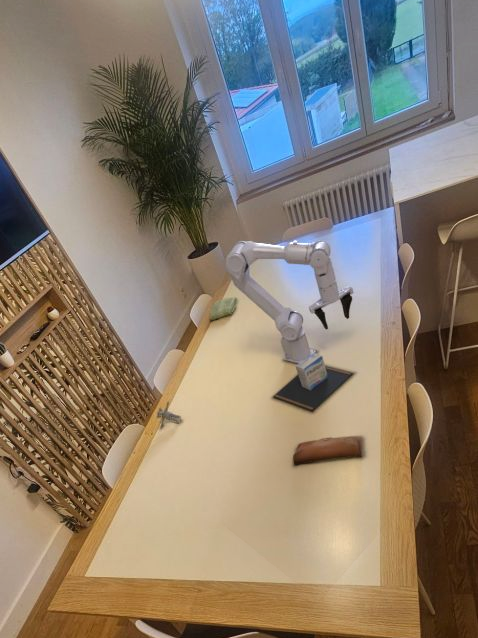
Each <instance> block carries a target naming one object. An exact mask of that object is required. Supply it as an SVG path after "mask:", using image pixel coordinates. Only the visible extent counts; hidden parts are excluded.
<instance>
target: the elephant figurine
mask: <svg viewBox="0 0 478 638" xmlns="http://www.w3.org/2000/svg"><path fill="white" fill-rule="evenodd" d="M169 405H170V401H167V403H166V406H165V408H164V409H163V408H161V407H159V408H158V411H157V413H156V414H157V415H156V419H161V423H160V428H161V429H162V428H163V426H164V422H165V419H166V420H167V421H172V422H175V423H178V424H180V423H181V418H182V416H181V415H178V414H175V413H173V412H171V411H168V408H169Z"/></svg>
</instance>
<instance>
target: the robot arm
mask: <svg viewBox="0 0 478 638" xmlns="http://www.w3.org/2000/svg"><path fill="white" fill-rule="evenodd" d="M258 260H284V261H285V262H286V264H288V265H302V266H303V265H304V266H310V267H311V268H312V269H313V273H314V277H315V282H316V285H317V288H318V293H319V296H320V299H318V300H316V301H315V302H314V303H312V304H311V305H309V306H308V311H309V312H310V314H311V315H312V314H314V315H315V316H316V317H317V318H318V319H319V321H320V323H321V324H322V326H323V328H324V329H325V330H328V329H329V326H328V323H327V320H326V312H325V311H324V310H323V308H325V307H327V306H329V305H332V304H334V303H336V302H337V301H340V304H341V307H342V312H343V315H344V318H345V319H347V320H348V319H350V310H351V305H352V302H353V296H352V295H353V294H354V288H353V286H351V285H349V286H346V287H344V288H341V289H339V288H338V283H337V278H336V274H335V269H334V267H333V263H332V260H331V245H329V244H328V243H327V242H326V241H323V240H317V241H315V242H314V241H312V242H310V243H305V242H304V243H303V242H299V240H293V242H289V243H288V244H287V245H285V246H283V245H275V244H267V243H258V242H255V241H251V240H247V241H244V240H240V241H237V242H235V243H234V245H233V246H232V249H231V251H230V252H229V253H228V254H227V256H226V259H225V271H226V272H227V273H228V274H229V276H230V278H231V281H232V283H233V285H234V286H235V288H237V289H238V290H239V291H240V292H241V293H243V295H245V296H246V298H248V300H250V301H251V302H252V303H253V304H255V305H256V306H257V307H258V308H259V309H260V310H262V311H263V312H264V313H265V314H266V315H267V316H268V317H269V318H271V319H272V320H273V321H274V324H275V328H276V330H277V331H278V332H279V334H280V335H281V338H280V345H281V349H282V351H283V354H284V358H283V360H284V361H286V362H287V361H288V362H291V363H295V364H297V365H298V364H299V363H301V362H302V361H304V360H305V359H306V358H308V357H309V356H311V355H312V354H313V353H315V354H317V351H316V350H315V349H314V350H313V349H311V348H310V345H309V341H308V338H307V333H306V330H305V329H304V327H303V323H304V317H303V315H302V314H301V313H300V312H298V311H295V310H293V309H292V308H291V307H285V306H284V305H282V303H280V302H279V301H278V300H277V299H276V298H275V297H274V296H272V294H271V293H270V292H268V291H267V290H266V289H265V288H264V287H263V286H262V285H261V284H260V283H258V281H256V280H255V279H254V278H253V277H252V276H251V275H250V266H251V265H253V264H254V263H255V262H256V261H258Z"/></svg>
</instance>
